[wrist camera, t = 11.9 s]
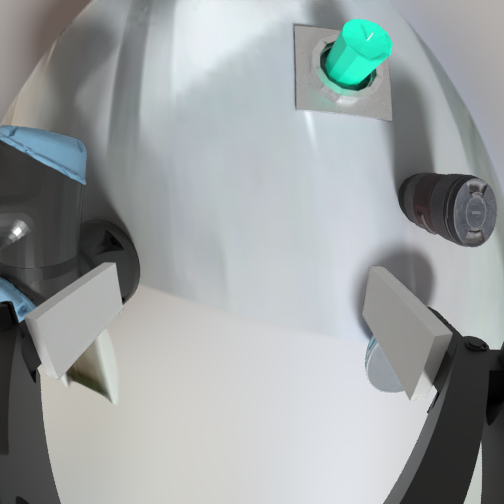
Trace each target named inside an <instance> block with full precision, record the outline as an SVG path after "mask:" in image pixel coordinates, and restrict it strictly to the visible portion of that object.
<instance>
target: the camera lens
mask: <svg viewBox="0 0 504 504" xmlns="http://www.w3.org/2000/svg"><path fill="white" fill-rule="evenodd" d="M398 198H399V205H400V208H401V210H402V211H403V213H404V214H405V215H406V217H407V218H408V219H409V220H410V221H411V222H413V223H415V224H416V225H417V226H419V227H421V228H423V229H425V230H427V231H428V232H429V233H432V234H434V235H436V234H439V235H440V236H442V237H443V238H445V239H447V240H449V241H452V242H454V243H456V244H458V245H461V246H466V247H467V246H468V247H478V246H480V245H482V244H483V243H485V242H486V241H487V240H488V239H489V237H490V236H491V234H492V232H493V230H494V227H495V224H496V218H497V203H496V199H495V195H494V193H493V191H492V189H491V187H490V186H489V185H488V184H487V183H486V182H485V181H484V180H482V179H479V178H477V177H475V176H472V175H463V174H448V175H445V174H436V173H422V174H415V175H413V176H411V177H410V178H408V179H406V180H405V181H404V182H403V184H402V186H401V188H400V190H399V196H398Z"/></svg>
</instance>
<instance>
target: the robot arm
mask: <svg viewBox="0 0 504 504" xmlns="http://www.w3.org/2000/svg"><path fill="white" fill-rule="evenodd" d="M86 160H87V150H86V147H85V145H84V144H83V143H82V142H81V141H80V140H78V139H76V138H73V137H70V136H66V135H63V134H59V133H54V132H50V131H45V130H40V129H34V128H28V127H18V126H11V125H2V126H0V504H61V503H60V499H59V496H58V493H57V489H56V485H55V481H54V477H53V473H52V469H51V464H50V459H49V454H48V449H47V443H46V436H45V429H44V422H43V412H42V402H41V384H40V374H39V371H38V369H37V368H38V366H40V365H41V364H42V366H43V368H44V370H45V373H46V375H47V376H50V377H53V378H56V379H58V380H59V379H60V378H61V377H62V376H63V375H64V373H65V372H66V371H67V370H68V369H69V368H70V367H71V365H72V364H73V363H74V362H75V361H76V360H77V359H78V358H79V356H80V355H81V354H82V353H83V352H84V351H85V350H86V349H87V348H88V346H89V345H90V344H91V343H92V342H93V341H94V340H95V339H96V338H97V337H98V336H99V334H100V333H101V332H102V331H103V330H104V329H105V328H106V327H107V326H108V325H109V324H110V323H111V322H112V321H113V319H114V318H115V317H116V316H117V315H118V314H119V313H120V312H121V311H122V310H123V305H124V304H125V303H126V302H127V301H128V300H129V299H130V298H131V297H132V295H133V294H134V293H135V291H136V289H137V287H138V284H139V278H140V266H139V260H138V257H137V254H136V251H135V249H134V247H133V245H132V243H131V241H130V240H129V238H128V237H127V236H126V235H125V234H124V233H123V232H122V231H121V230H120V229H119V228H118V227H116V226H115V225H113V224H111V223H109V222H106V221H102V220H92V221H88V222H85V223H82V224H81V215H82V202H83V192H84V185H86V180H85V172H86ZM362 316H363V318H364V319H365V321H366V323H367V324H368V326H369V328H370V330H371V331H372V333H373V335H374V336H375V338H376V340H377V342H378V343H379V345H380V347H381V349H382V350H383V352H384V354H385V356H386V357H387V359H388V361H389V363H390V364H391V366H392V368H393V370H394V372H395V374H396V375H397V377H398V379H399V381H400V383H401V385H402V387H403V388H404V390H405V392H406V394H407V395H408V398H409V400H410V401H412V400H417V399H421V398H426V397H427V396H428V394H429V392H430V390H431V388H432V386H433V385H434V386H435V388H436V389H437V393H436V395H435V398H434V400H433V402H432V404H431V406H430V407H429V410H428V411H427V413H428V416H427V419H426V421H425V424H424V426H423V428H422V431H421V433H420V436H419V438H418V440H417V442H416V444H415V447H414V449H413V451H412V453H411V455H410V457H409V459H408V461H407V463H406V465H405V467H404V469H403V471H402V473H401V475H400V476H399V478H398V480H397V482H396V483H395V485H394V487H393V489H392V490H391V492H390V494H389V495H388V497H387V499H386V500H385V502H384V503H383V504H463V503H464V500H465V498H466V495H467V491H468V489H469V486H470V482H471V479H472V476H473V472H474V468H475V464H476V461H477V456H478V452H479V448H480V442H481V444H482V494H481V504H504V342H503V345H502V347H501V350H490V349H489V346H488V345H487V344H486V342H484V341H483V340H481V339H479V338H476V337H472V336H464V337H463V336H462V335H461V334H460V333H459V332H458V331H457V330H456V329H455V328H454V327H453V326H452V325H451V324H448V321H447V320H446V319H444V317H443V316H442V315H440V314H439V313H438V312H437V311H436V310H434V309H432V308H430V307H426V306H425V305H424V304H423V303H422V302H421V301H420V300H419V299H418V298H417V297H416V296H415V295H414V294H413V293H412V292H410V291H409V290H408V289H407V288H406V287H405V286H404V285H403V284H402V283H401V282H400V281H399V280H398V279H396V278H395V277H394V276H393V275H392V274H391V273H390V272H389V271H388V270H387V269H385V268H384V267H383V266H369V273H368V281H367V288H366V294H365V301H364V307H363V313H362Z"/></svg>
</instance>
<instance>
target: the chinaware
mask: <svg viewBox="0 0 504 504" xmlns="http://www.w3.org/2000/svg"><path fill="white" fill-rule="evenodd" d="M365 360H366V361H365V367H366V375H367V379H368V381H369V383H370V384H371V385H372V386H373V387H374V388H375V389H377V390H379V391H381V392H385V393H398V392H403V391H405V390H404V388H403V387H402V385H401V383H400V381H399V379H398V377H397V375H396V374H395V372H394V370H393V368H392V366H391V364H390V363H389V361H388V359H387V357H386V356H385V354H384V352H383V350H382V349H381V347H380V345H379V343H378V342H377V340H376V338H375V336H374V335H373V336H372V338H371V340H370V342H369V344H368V348H367V352H366V359H365Z"/></svg>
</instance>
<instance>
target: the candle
mask: <svg viewBox="0 0 504 504" xmlns="http://www.w3.org/2000/svg"><path fill="white" fill-rule="evenodd" d="M392 45H393V43H392V41H391V39H390V37H389V35H388V33H387V32H386V31H385V30H383V29H382V28H381V27H380V26H379V25H378V24H376V23H373V22H370V21H367V20H364V19H352V20H350V21H349V22H347V23H345V24H344V26H343V28H342V30H341V32H340V34H339V35H338V37H337V39H336V41H335V43H334V45H333V47H332V49H331V51H330V53H329V55H328V56H327V60H326V64H325V67H326V70H327V73H328V75H329V76H330V77H331V78H332V79H333V80H334V81H335V82H336V83H339V84H342V85H344V86H354V85H358V84H359V83H360V82H361V81H362V80H363V79H365V78H366V77H367V76H368V75H369V74H370V73H371V72H372V71H373V70H374V69H375V68H376V67H378V66H379V65H380V64H381V63H382V62H383V61H384V60H385V59H386V58H387V57H389V56H390V54H391V50H392Z"/></svg>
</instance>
